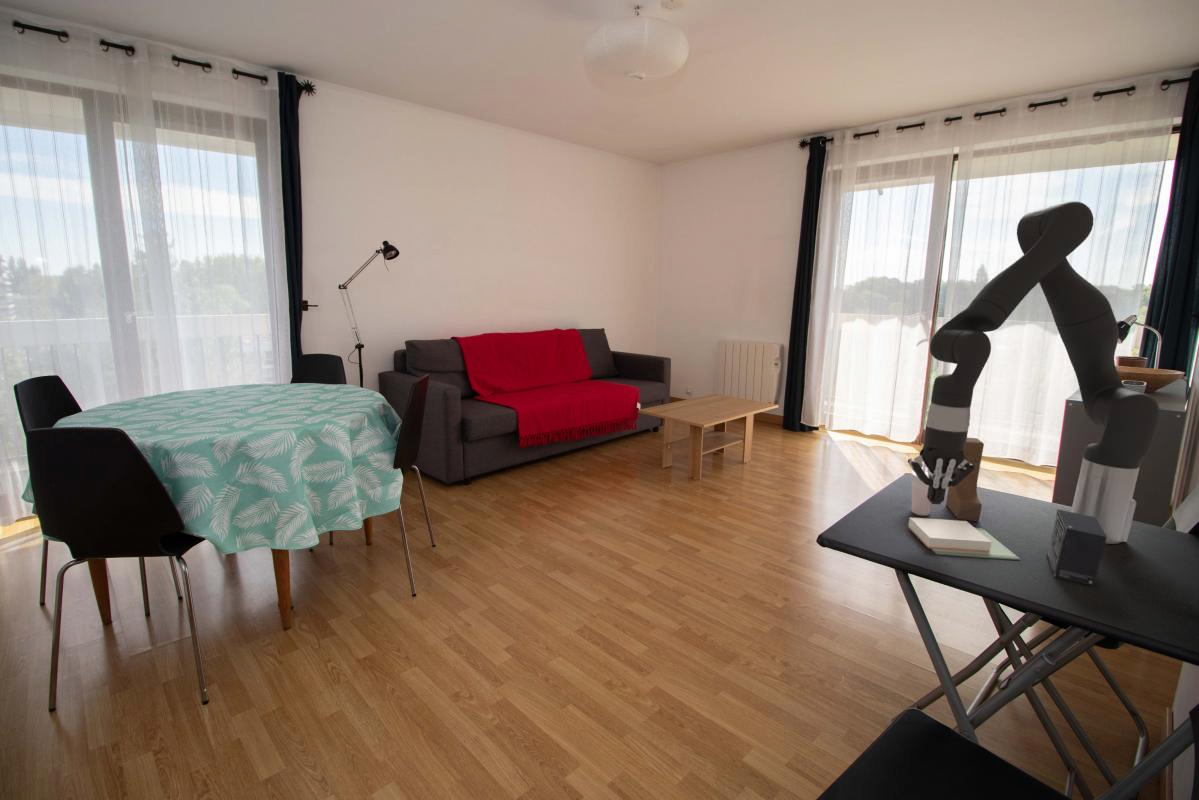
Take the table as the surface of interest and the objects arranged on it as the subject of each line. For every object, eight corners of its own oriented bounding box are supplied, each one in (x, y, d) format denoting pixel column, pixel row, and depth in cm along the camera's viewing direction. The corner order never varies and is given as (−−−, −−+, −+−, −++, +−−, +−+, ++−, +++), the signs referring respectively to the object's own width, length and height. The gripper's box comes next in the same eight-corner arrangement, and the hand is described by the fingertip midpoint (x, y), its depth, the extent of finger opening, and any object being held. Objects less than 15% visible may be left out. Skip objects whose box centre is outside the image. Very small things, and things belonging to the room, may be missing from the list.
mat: (982, 529, 127) (982, 528, 127) (1019, 560, 113) (1020, 558, 113) (907, 524, 128) (908, 523, 128) (936, 554, 115) (936, 553, 115)
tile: (908, 527, 127) (964, 530, 125) (928, 548, 117) (989, 552, 116) (909, 517, 126) (966, 521, 125) (929, 537, 116) (991, 541, 115)
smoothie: (910, 504, 140) (918, 451, 137) (938, 512, 136) (947, 457, 132) (901, 511, 136) (909, 457, 132) (930, 520, 131) (939, 463, 128)
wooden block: (979, 522, 131) (992, 448, 127) (957, 519, 132) (970, 447, 128) (965, 507, 139) (977, 438, 135) (945, 504, 140) (956, 436, 136)
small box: (1097, 588, 103) (1109, 536, 101) (1052, 578, 107) (1063, 527, 104) (1086, 564, 112) (1097, 515, 110) (1045, 555, 116) (1055, 508, 113)
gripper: (971, 422, 119) (958, 498, 123) (906, 419, 120) (895, 494, 124) (991, 431, 111) (976, 512, 115) (921, 428, 113) (909, 508, 117)
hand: (934, 503), depth 120 cm, fingers closed
